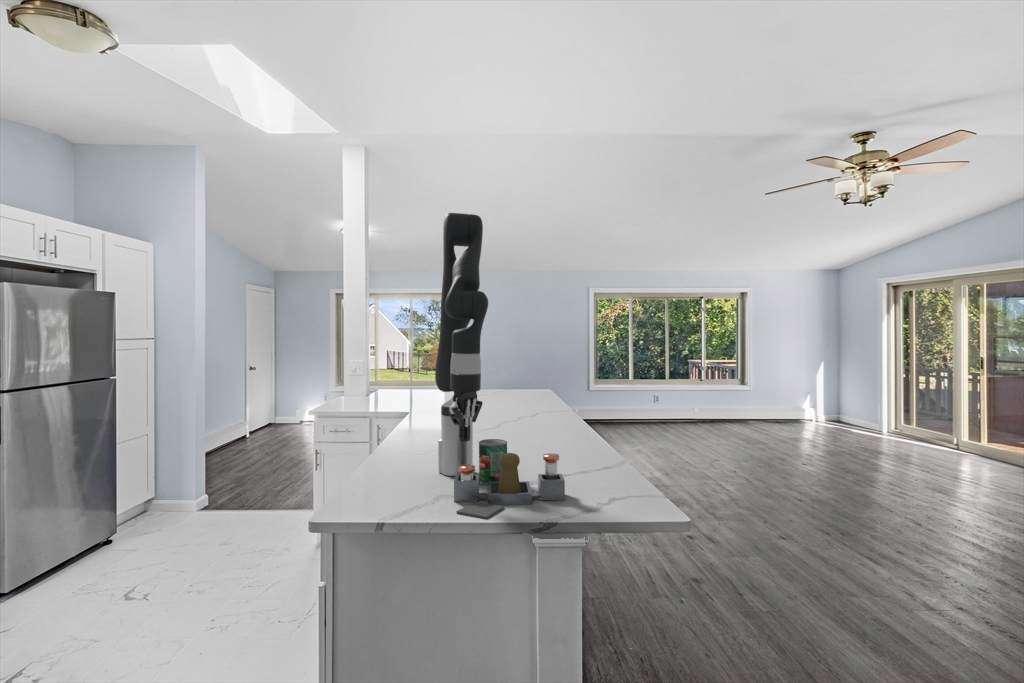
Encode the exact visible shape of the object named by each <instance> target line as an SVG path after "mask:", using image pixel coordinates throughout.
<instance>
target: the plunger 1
mask: <svg viewBox="0 0 1024 683" xmlns="http://www.w3.org/2000/svg"><path fill="white" fill-rule="evenodd" d="M475 471H476V466H475V465H474V464H473V465H461V466H459V472H461V480H473V475H474V472H475Z"/></svg>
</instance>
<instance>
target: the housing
mask: <svg viewBox="0 0 1024 683" xmlns="http://www.w3.org/2000/svg"><path fill="white" fill-rule="evenodd" d="M537 477H538V478H537V479H538V480H537V483H538V485H537V488H538V489H537V492H536V491H532V487H531V483H530V481H519V483H520V491H526V492H521V493H498V487H499V482H488V485H487V492H480V482H479V474H473V480H461V475H456V476H454V480H453V503H469V501H470V503H473V502H475V501H479V502H480V501H482V500H481V499H488V500H487V504H493V505H532V504H533V500H539V501H540V500H566V495H565V494H566V490H565V489H566V487H565V486H566V484H565V482H566V481H565V478H564V475H563V474H562V473H557V479H554V480H545V473H538V474H537ZM539 498H540V499H539Z"/></svg>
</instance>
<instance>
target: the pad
mask: <svg viewBox="0 0 1024 683" xmlns="http://www.w3.org/2000/svg"><path fill="white" fill-rule="evenodd" d="M503 510H505V506H503V505H500V504H488V502H486V503H485V502H481V501H479V502H470V504H467V505H466V506H463V507H462V508H460V509H458V510H456V514H459V515H464V516H468V517H474V518H479V519H484V520H488V519H489V518H491V517H493V516H494V515H497V514H498V513H499V512H501V511H503Z"/></svg>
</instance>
